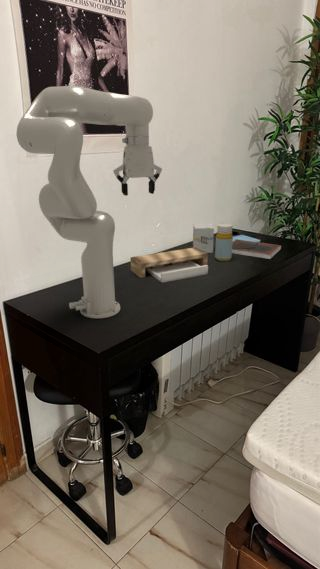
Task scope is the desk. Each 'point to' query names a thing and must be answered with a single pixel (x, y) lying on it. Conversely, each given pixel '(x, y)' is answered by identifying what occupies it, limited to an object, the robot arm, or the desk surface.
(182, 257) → the oak overhang
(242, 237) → the waterproof phone case
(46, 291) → the desk surface
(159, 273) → the white flat rectangular tray
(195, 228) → the ink box
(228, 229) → the bottle
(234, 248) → the book
